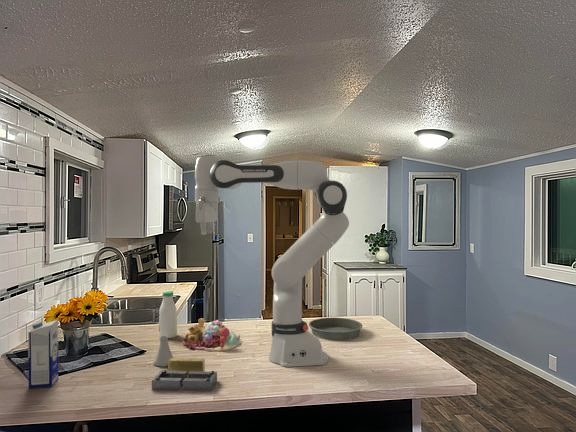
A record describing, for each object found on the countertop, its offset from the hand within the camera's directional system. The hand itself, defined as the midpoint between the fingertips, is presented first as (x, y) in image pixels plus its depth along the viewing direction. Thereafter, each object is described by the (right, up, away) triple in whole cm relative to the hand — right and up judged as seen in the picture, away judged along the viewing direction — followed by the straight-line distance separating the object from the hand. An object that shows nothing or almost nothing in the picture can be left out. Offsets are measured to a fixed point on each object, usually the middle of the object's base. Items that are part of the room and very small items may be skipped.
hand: (206, 234), depth 166 cm
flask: (-15, -48, -6) cm, 50 cm away
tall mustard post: (-4, -48, -16) cm, 50 cm away
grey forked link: (+3, -48, -26) cm, 55 cm away
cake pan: (+53, -47, +33) cm, 78 cm away
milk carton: (-49, -48, -25) cm, 73 cm away
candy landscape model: (-1, -48, +20) cm, 52 cm away
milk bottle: (-23, -47, +28) cm, 60 cm away
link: (-7, -48, -26) cm, 55 cm away
